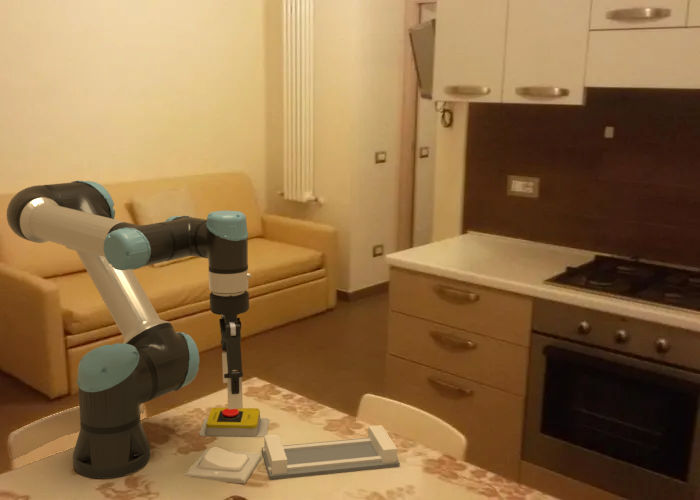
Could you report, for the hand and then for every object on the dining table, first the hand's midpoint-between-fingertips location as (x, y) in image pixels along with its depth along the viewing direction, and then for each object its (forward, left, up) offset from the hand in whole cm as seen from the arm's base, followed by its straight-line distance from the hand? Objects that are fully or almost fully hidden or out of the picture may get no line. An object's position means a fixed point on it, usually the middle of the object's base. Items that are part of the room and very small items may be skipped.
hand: (232, 394), depth 148 cm
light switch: (-2, +1, -17) cm, 17 cm away
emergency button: (+2, +18, -17) cm, 25 cm away
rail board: (+20, 0, -16) cm, 26 cm away
